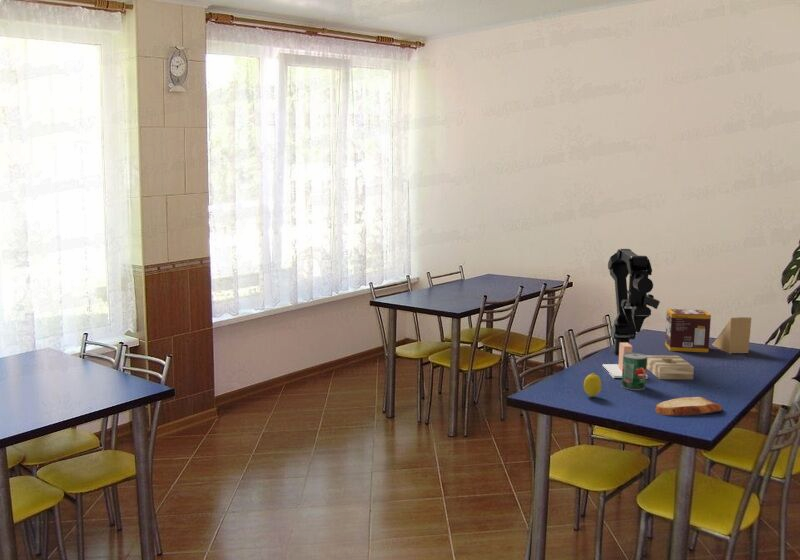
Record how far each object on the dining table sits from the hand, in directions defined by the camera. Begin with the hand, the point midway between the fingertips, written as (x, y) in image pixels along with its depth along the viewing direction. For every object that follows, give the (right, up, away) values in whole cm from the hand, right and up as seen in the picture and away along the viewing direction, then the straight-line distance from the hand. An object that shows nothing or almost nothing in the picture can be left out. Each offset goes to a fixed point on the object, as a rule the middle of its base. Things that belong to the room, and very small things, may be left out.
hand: (634, 329), depth 296 cm
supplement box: (+29, -10, +26) cm, 40 cm away
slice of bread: (0, -22, -54) cm, 58 cm away
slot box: (+9, -15, -12) cm, 21 cm away
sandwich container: (+47, -10, +26) cm, 54 cm away
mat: (-7, -15, -12) cm, 20 cm away
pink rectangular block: (-7, -14, -12) cm, 20 cm away
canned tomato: (-9, -18, -30) cm, 36 cm away
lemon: (-26, -20, -41) cm, 53 cm away
